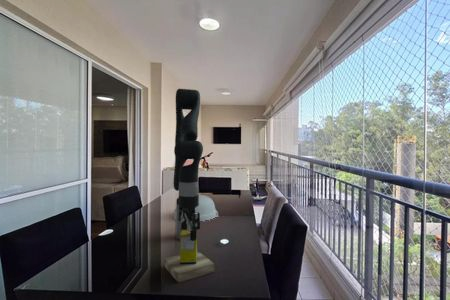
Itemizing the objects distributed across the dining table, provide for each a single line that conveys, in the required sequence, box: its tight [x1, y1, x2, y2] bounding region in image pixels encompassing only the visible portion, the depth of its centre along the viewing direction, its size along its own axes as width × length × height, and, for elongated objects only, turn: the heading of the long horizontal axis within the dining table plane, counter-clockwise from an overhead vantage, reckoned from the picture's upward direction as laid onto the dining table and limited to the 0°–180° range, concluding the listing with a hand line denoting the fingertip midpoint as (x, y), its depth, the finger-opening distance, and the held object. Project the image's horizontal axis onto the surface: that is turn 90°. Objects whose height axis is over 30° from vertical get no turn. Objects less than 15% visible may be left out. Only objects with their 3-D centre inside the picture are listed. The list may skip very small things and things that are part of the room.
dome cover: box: [173, 194, 219, 222], centre depth 170 cm, size 32×30×14 cm
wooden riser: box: [164, 250, 215, 283], centre depth 93 cm, size 14×14×3 cm
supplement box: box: [179, 230, 198, 264], centre depth 93 cm, size 6×6×11 cm
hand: (188, 236), depth 93 cm, fingers open, 8 cm apart
